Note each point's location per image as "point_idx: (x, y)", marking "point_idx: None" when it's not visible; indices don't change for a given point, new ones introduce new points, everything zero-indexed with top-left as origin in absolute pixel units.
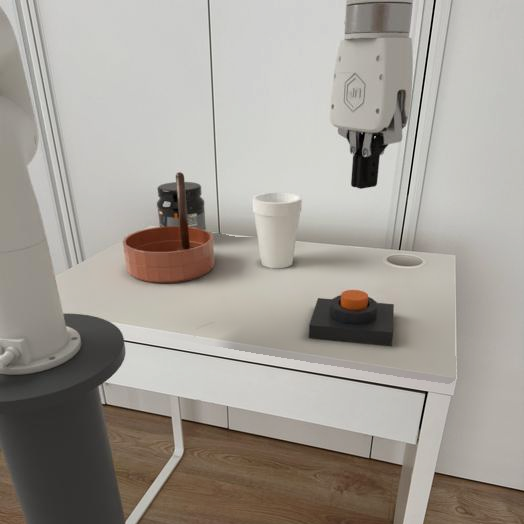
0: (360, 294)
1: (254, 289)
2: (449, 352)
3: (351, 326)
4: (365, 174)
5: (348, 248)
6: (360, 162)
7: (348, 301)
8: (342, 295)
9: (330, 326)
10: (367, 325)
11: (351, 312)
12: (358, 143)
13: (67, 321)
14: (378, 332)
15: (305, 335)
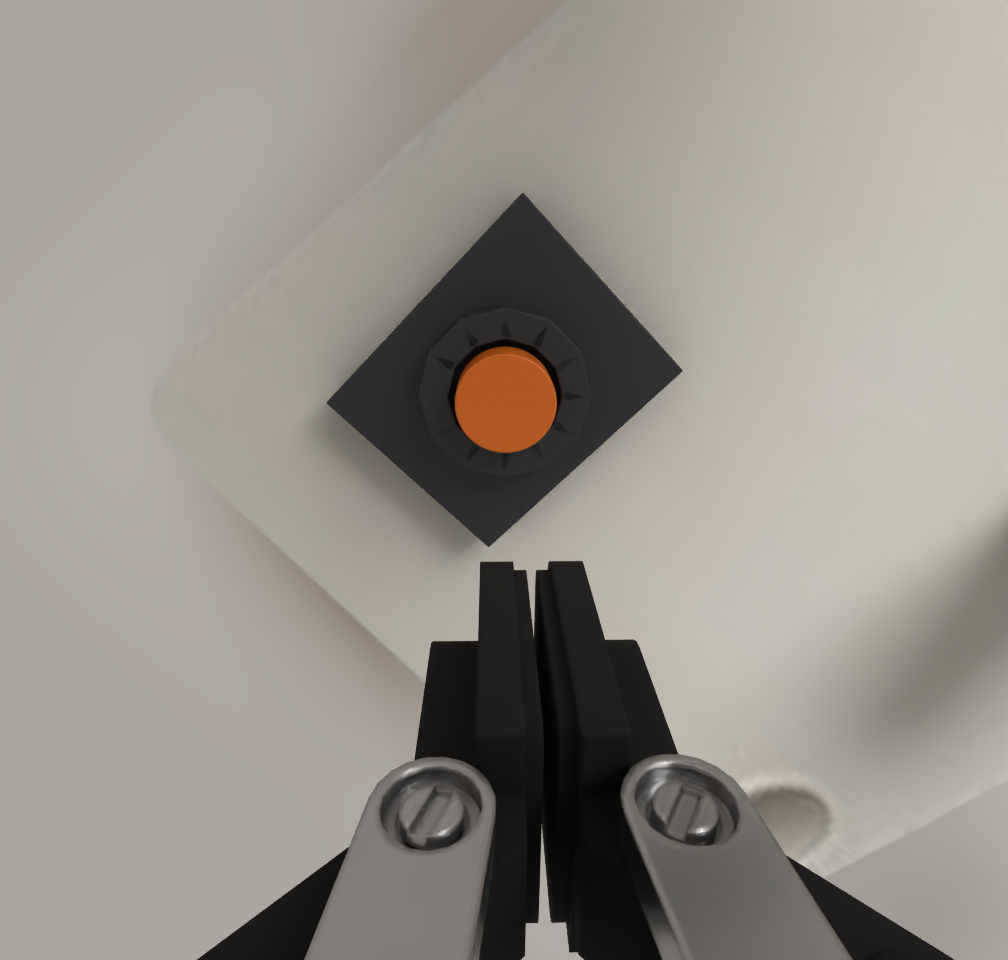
0: (495, 424)
1: (973, 273)
2: (232, 500)
3: (431, 317)
4: (465, 666)
5: (983, 772)
6: (484, 693)
7: (485, 356)
8: (527, 362)
9: (469, 252)
10: (409, 368)
11: (447, 335)
12: (648, 920)
13: None
14: (358, 369)
15: (544, 200)
